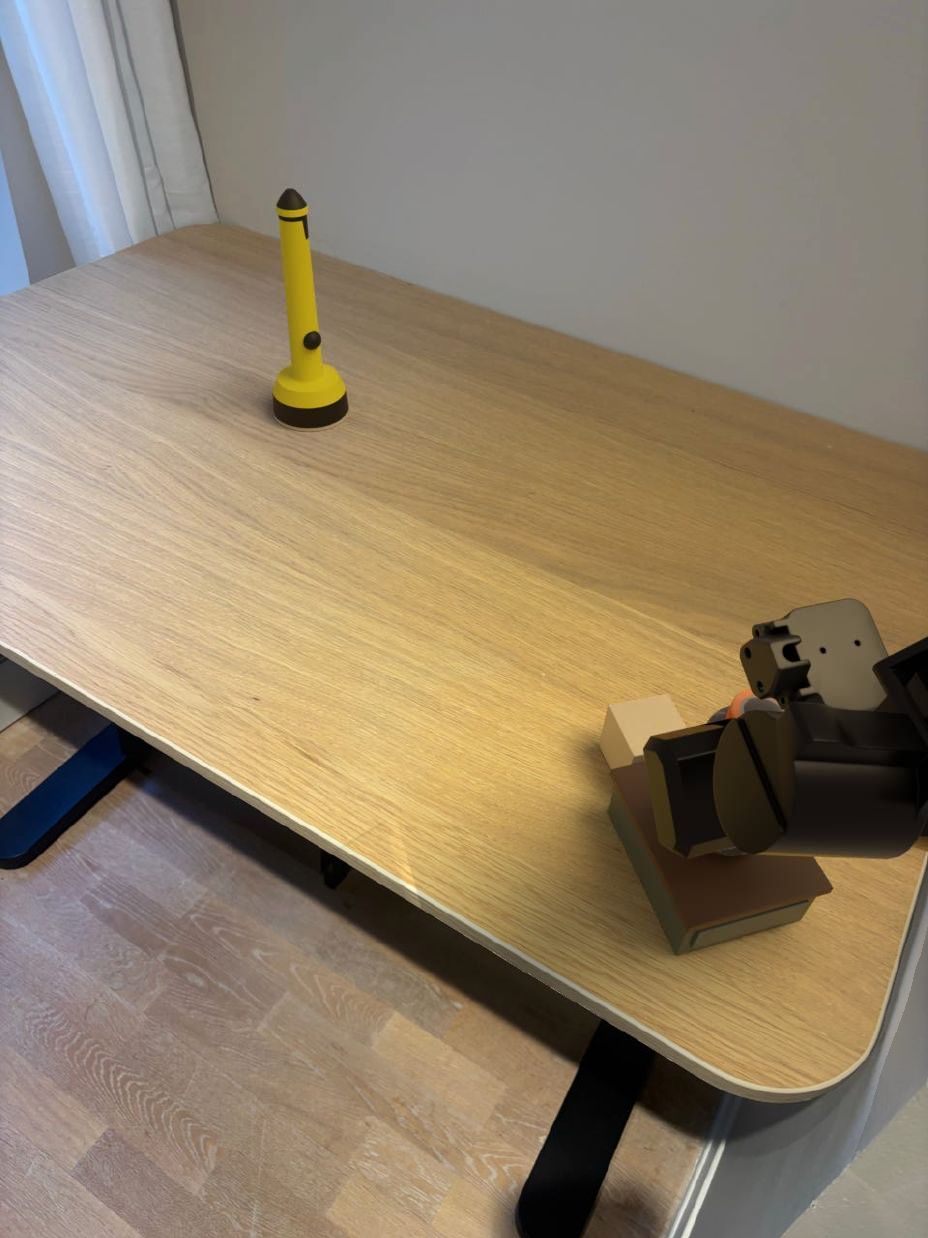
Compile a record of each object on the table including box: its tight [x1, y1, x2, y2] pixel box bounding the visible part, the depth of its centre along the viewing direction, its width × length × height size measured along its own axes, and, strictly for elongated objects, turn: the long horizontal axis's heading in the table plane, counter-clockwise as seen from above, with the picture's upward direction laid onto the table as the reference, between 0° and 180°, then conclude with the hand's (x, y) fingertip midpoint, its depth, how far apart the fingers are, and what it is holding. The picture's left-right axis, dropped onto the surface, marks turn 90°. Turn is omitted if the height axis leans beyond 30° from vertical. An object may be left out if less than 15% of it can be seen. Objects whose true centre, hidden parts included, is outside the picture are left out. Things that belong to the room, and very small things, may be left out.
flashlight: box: [272, 187, 350, 433], centre depth 95 cm, size 25×9×9 cm
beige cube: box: [598, 693, 688, 770], centre depth 67 cm, size 5×5×5 cm
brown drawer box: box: [607, 761, 834, 957], centre depth 61 cm, size 12×10×5 cm
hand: (735, 743), depth 55 cm, fingers closed on pill bottle, 6 cm apart
